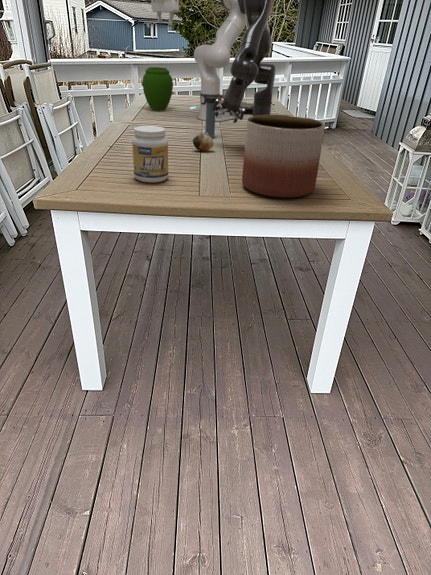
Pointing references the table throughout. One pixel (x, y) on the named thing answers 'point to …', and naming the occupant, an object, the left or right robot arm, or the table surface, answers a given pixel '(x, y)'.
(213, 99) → the lid
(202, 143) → the seashell
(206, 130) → the dark gray cylinder
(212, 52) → the left robot arm
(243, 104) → the sign
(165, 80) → the vase
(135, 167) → the supplement tub
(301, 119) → the planter
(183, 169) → the table surface
